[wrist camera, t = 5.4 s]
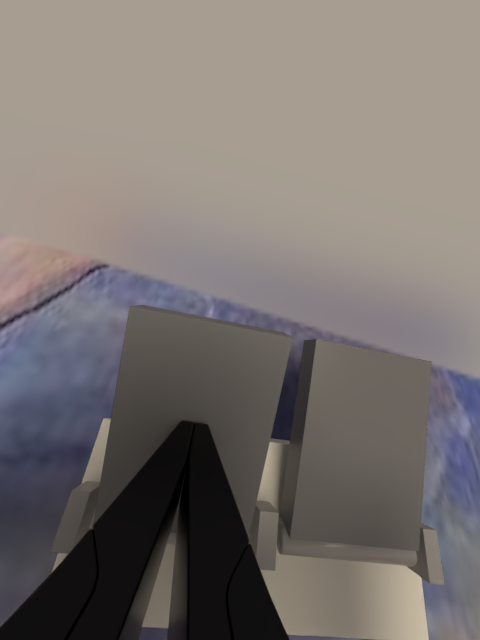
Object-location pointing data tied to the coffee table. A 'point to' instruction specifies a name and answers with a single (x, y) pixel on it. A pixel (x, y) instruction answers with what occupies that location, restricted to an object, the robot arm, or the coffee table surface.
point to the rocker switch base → (288, 567)
